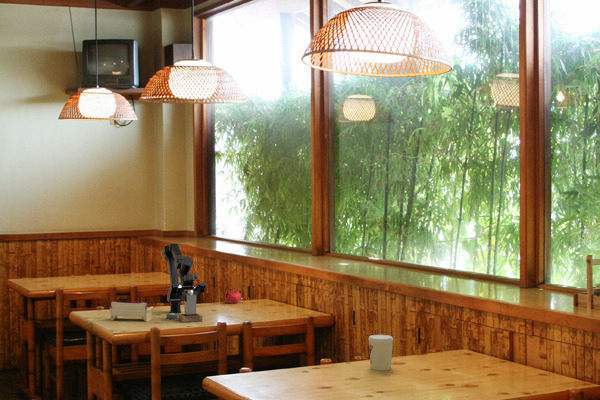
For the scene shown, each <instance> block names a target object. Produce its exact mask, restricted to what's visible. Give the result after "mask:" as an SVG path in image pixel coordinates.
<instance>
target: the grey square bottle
mask: <svg viewBox="0 0 600 400" xmlns="http://www.w3.org/2000/svg"><path fill="white" fill-rule="evenodd" d="M186 291H187V293H185V296H186V302H185V301H183V302H184V303H183V304H184V306H183V307H184V309H183V310H184V311H183V312H184V313H183V314H196V313H197V300H196V294H193V293H194V290H186Z"/></svg>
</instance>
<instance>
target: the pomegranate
mask: <svg viewBox="0 0 600 400" xmlns="http://www.w3.org/2000/svg"><path fill="white" fill-rule="evenodd" d="M241 299H242V294H241V292H239V291H237V289H234V287H231V289H229V290H227V291H226V293H225V295H224V300H225V302H226V303H227V304H230V305H231V304H232V305H233V304H234V305H235V304H239V303H240V302H241Z"/></svg>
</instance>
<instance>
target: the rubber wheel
mask: <svg viewBox="0 0 600 400" xmlns="http://www.w3.org/2000/svg"><path fill="white" fill-rule="evenodd" d="M167 319H169V320H168V321H174V320H175V319H176V320H179V313H170V312H169V313H166V320H167Z"/></svg>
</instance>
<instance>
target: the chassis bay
mask: <svg viewBox="0 0 600 400" xmlns="http://www.w3.org/2000/svg"><path fill="white" fill-rule="evenodd" d="M178 321H180V322H181V323H183V324H187V323H200V322H201V323H202V322H203V315H202V314H200V313H198V312H196V314H185V313H178Z"/></svg>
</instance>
